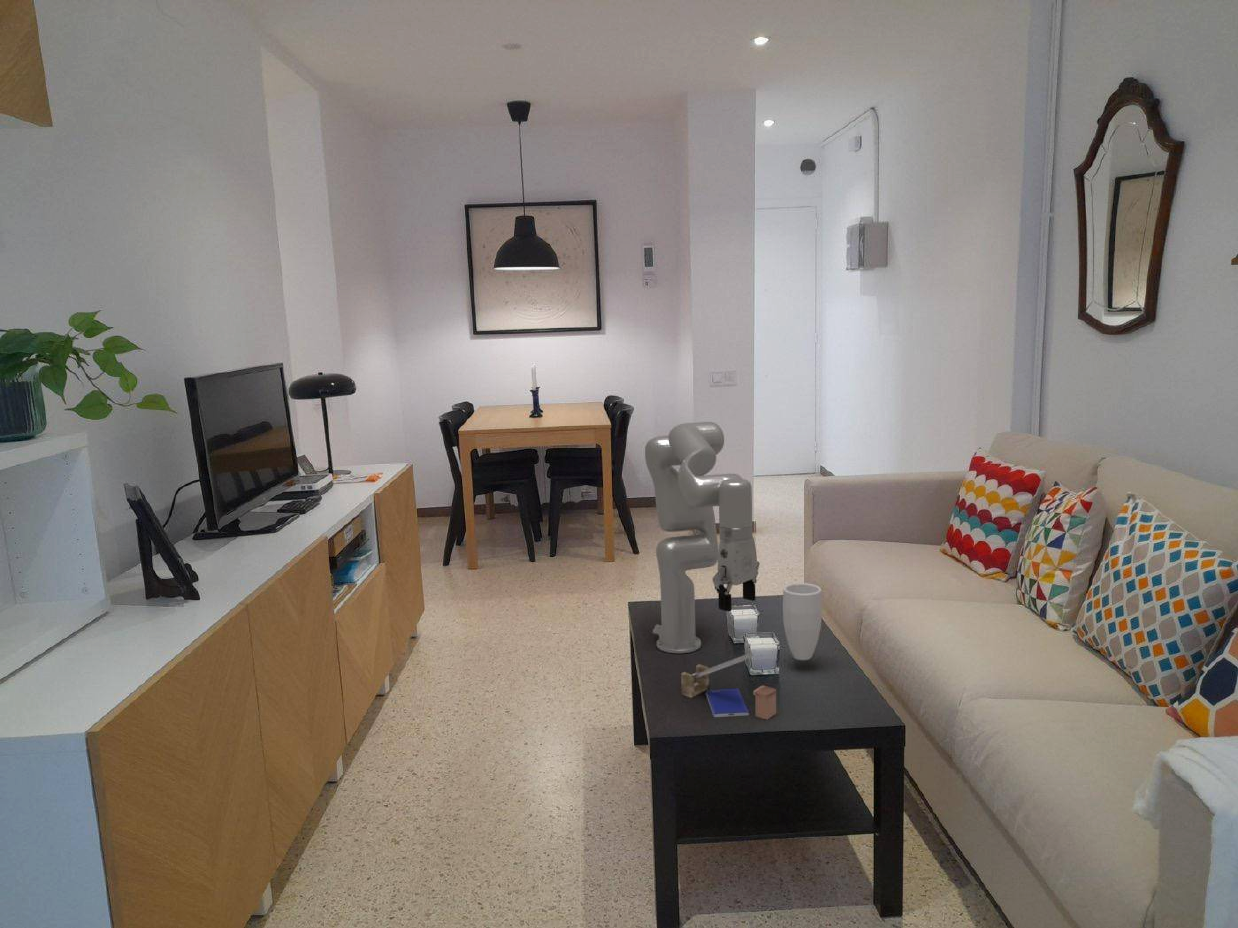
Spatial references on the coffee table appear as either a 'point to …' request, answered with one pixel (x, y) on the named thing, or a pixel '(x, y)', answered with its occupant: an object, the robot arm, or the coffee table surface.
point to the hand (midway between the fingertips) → (737, 604)
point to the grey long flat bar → (722, 666)
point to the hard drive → (726, 703)
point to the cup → (802, 618)
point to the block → (765, 702)
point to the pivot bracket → (688, 682)
